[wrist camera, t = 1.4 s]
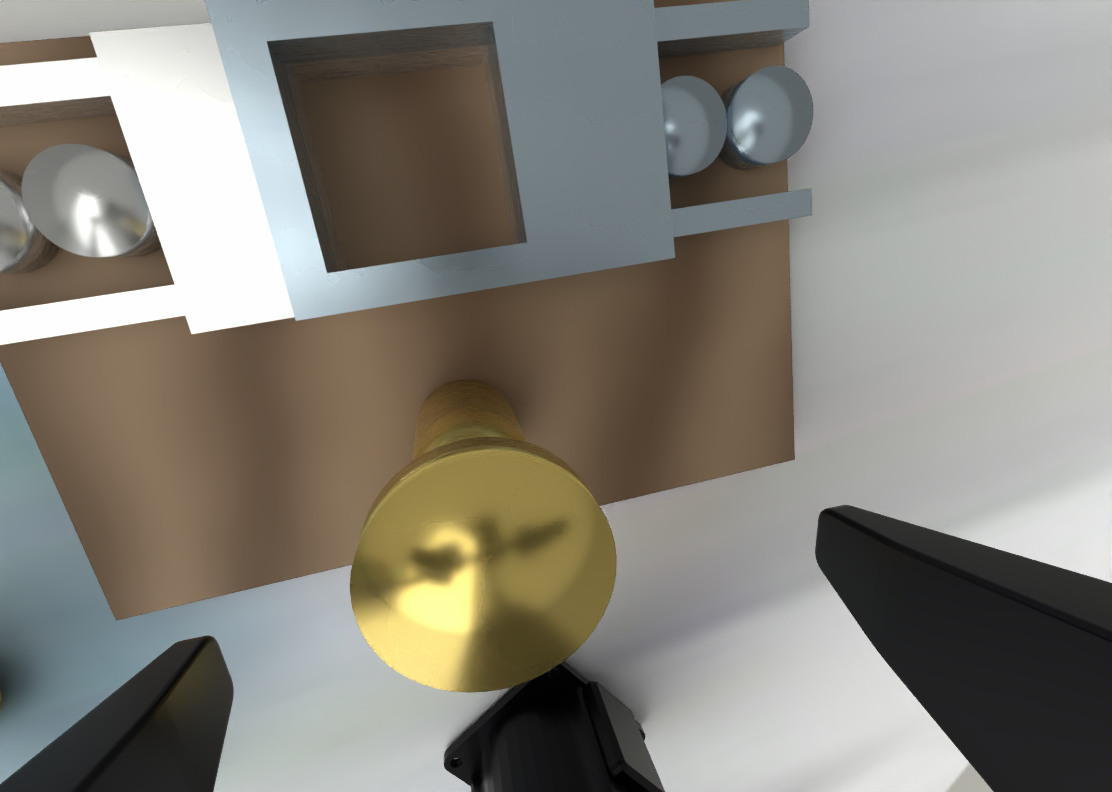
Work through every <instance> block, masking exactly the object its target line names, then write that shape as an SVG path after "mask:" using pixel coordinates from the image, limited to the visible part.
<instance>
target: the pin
mask: <svg viewBox="0 0 1112 792" xmlns="http://www.w3.org/2000/svg"><path fill="white" fill-rule="evenodd" d="M616 559H617V558H616V549H615V542H614V539H613V535H612V531H611V528H610V526H609V524H608V521H607V519H606V517H605V515H604V513H603V512H602V510H601V508H600V507H599V505H598V504H597V502H596V500H595V499H594V497H593V496H592V494H591V493H590V491H589V489H588V488H587V486H586V485H585V483H584V481H583V480H582V479H581V478H580V477H579V475H578V474H577V473H576V472H575V471H574V470H573V469H572V468H571V467H570V466H569V465H568V464H567V463H566V462H564V461H563V460H562V459H560V458H559V457H557V456H556V455H554V454H553V453H551V452H550V451H547V450H545V449H543V448H541V447H539V446H537V445H534V444H531V443H528V442H527V440H526V438H525V436H524V434H523V432H522V430H521V427H520V425H519V423H518V421H517V419H516V417H515V415H514V412H513V410H512V408H511V406H510V404H509V402H508V401H507V399H506V398H505V396H504V395H503V394H502V393H501V392H500V391H499V390H498V389H496V388H495V387H493V386H492V385H489V384H487V383H485V382H482V381H478V380H473V379H461V380H455V381H452V382H448V383H446V384H444V385H442V386H440V387H439V388H437V389H436V390H435V391H433V392H432V393H431V394H430V395H429V396H428V397H427V399H426V400H425V402H424V403H423V405H422V407H421V409H420V412H419V415H418V420H417V427H416V433H415V440H414V447H413V454H412V461H411V462H410V463H408V464H407V465H406V466H405V467H403V468H402V469H401V470H400V471H398V472H397V473H396V474H395V475H394V476H393V477H392V478H391V479H390V480H389V482H388V483H387V484H386V485H385V486H384V487H383V489H382V490H381V491H380V493H379V494H378V496H377V497H376V498H375V500H374V502H373V504H372V506H371V508H370V510H369V511H368V514H367V516H366V519H365V522H364V525H363V528H362V531H361V534H360V538H359V541H358V545H357V548H356V552H355V555H354V559H353V564H352V569H351V578H350V594H351V602H352V608H353V611H354V615H355V619H356V622H357V624H358V626H359V628H360V630H361V632H362V635H363V636H364V638H365V639H366V641H367V642H368V644H369V645H370V647H371V648H372V649H373V650H374V651H375V653H376V654H377V655H378V656H379V657H380V658H381V659H382V660H383V661H384V662H386V663H387V664H388V665H389V666H390V667H392V668H393V669H394V670H396V671H397V672H399V673H401V674H402V675H404V676H406V677H407V678H409V679H412V680H414V681H416V682H418V683H421V684H423V685H427V686H430V687H433V688H437V689H442V690H447V691H453V692H487V691H493V690H499V689H504V688H508V687H512V686H515V685H519V684H521V683H524V682H527V681H529V680H532V679H534V678H536V677H538V676H540V675H542V674H544V673H546V672H548V671H550V670H551V669H553V668H554V667H556V666H557V665H559V664H560V663H562V662H563V661H564V660H565V659H567V658H568V657H569V656H570V655H572V654H573V653H574V652H575V651H576V650H577V649H578V648H579V647H580V646H581V645H582V644H583V643H584V642H585V641H586V640H587V638H588V637H589V636H590V634H591V633H592V632H593V631H594V629H595V628H596V626H597V625H598V623H599V621H600V620H601V618H602V616H603V615H604V612H605V610H606V608H607V606H608V603H609V601H610V598H611V595H612V591H613V588H614V583H615V577H616Z"/></svg>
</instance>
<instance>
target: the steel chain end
mask: <svg viewBox="0 0 1112 792" xmlns="http://www.w3.org/2000/svg"><path fill="white" fill-rule="evenodd" d="M89 34H90V37H91V40H92V43H93V46H94V49H95V52H96V55H97V57H96V58H85V59H73V60H62V61H51V62H39V63H28V64H17V65H5V66H0V127H4V126H13V125H23V124H33V123H42V122H52V121H61V120H71V119H81V118H90V117H100V116H109V115H117V116H118V119H119V122H120V125H121V128H122V131H123V134H124V137H125V140H126V143H127V146H128V149H129V152H130V155H131V157H132V159H130V158H126V157H123V156H120V155H117V154H114V153H110V152H107V151H104V150H101V149H98V148H95V147H91V146H88V145H82V144H61V145H56V146H53V147H50V148H47V149H45V150H43V151H42V152H40V153H39V154H38V155H36V156H35V157H34V158H33V159H32V160H31V162H30V163H29V164H28V166H27V168H26V170H25V172H24V175H23V177H21V176H19V175H16V174H14V173H11V172H8V171H4V170H0V274H16V273H26V272H31V271H34V270H36V269H39V268H41V267H43V266H44V265H46V264H47V263H48V262H49V261H50V260H51V259H52V258H53V257H54V256H55V254H56V253H57V251H58V249H59V247H61V248H63V249H65V250H67V251H69V252H72V253H74V254H78V255H82V256H88V257H139V256H144V255H147V254H150V253H152V252H154V251H156V250H157V249H159V248H160V247H162V248H163V251H164V254H165V257H166V260H167V263H168V266H169V269H170V272H171V275H172V278H173V281H174V284H175V285H169V286H162V287H155V288H149V289H142V290H136V291H129V292H122V293H116V294H109V295H102V296H96V297H89V298H83V299H76V300H69V301H63V302H56V303H50V304H43V305H36V306H30V307H23V308H16V309H10V310H3V311H0V345H3V344H9V343H16V342H22V341H28V340H34V339H41V338H47V337H53V336H59V335H66V334H72V333H78V332H85V331H91V330H97V329H103V328H110V327H116V326H122V325H128V324H135V323H141V322H147V321H153V320H160V319H166V318H172V317H178V316H186V319H187V322H188V325H189V328H190V331H191V334H196V333H202V332H208V331H214V330H220V329H226V328H232V327H238V326H244V325H250V324H256V323H262V322H268V321H274V320H281V319H287V318H293V317H295V316H294V313H293V309H292V306H291V302H290V299H289V295H288V292H287V288H286V285H285V281H284V278H283V274H282V271H281V267H280V264H279V260H278V257H277V253H276V250H275V246H274V242H273V239H272V235H271V232H270V228H269V225H268V221H267V218H266V214H265V211H264V207H263V204H262V200H261V197H260V193H259V190H258V186H257V183H256V179H255V176H254V172H253V169H252V165H251V161H250V158H249V154H248V151H247V147H246V144H245V140H244V137H243V133H242V130H241V126H240V123H239V119H238V116H237V112H236V109H235V105H234V102H233V98H232V95H231V91H230V88H229V84H228V81H227V77H226V73H225V70H224V66H223V63H222V59H221V56H220V52H219V49H218V45H217V42H216V38H215V35H214V31H213V28H212V24H211V23H202V24H189V25H177V26H165V27H153V28H140V29H128V30H116V31H104V32H92V33H89ZM285 65H286V69H287V73H288V77H289V81H290V85H291V89H292V93H293V97H294V101H295V104H296V108H297V112H298V116H299V120H300V124H301V128H302V132H303V136H304V140H305V144H306V148H307V151H308V155H309V159H310V163H311V167H312V171H313V175H314V179H315V183H316V187H317V191H318V195H319V198H320V202H321V206H322V210H323V214H324V218H325V222H326V226H327V230H328V234H329V238H330V241H331V245H332V249H333V253H334V257H335V261H336V265H337V269H338V272H339V271H345V270H347V267H346V263H345V259H344V255H343V251H342V247H341V243H340V239H339V235H338V231H337V227H336V223H335V219H334V215H333V211H332V207H331V203H330V199H329V195H328V191H327V187H326V183H325V179H324V175H323V171H322V167H321V163H320V159H319V155H318V151H317V147H316V143H315V139H314V135H313V131H312V127H311V123H310V119H309V115H308V111H307V107H306V103H305V99H304V95H303V91H302V87H301V83H306V82H316V81H326V80H336V79H346V78H356V77H366V76H376V75H386V74H396V73H406V72H416V71H426V70H435V69H445V68H455V67H465V66H475V65H483V67H484V73H485V80H486V86H487V92H488V98H489V104H490V110H491V116H492V122H493V128H494V134H495V140H496V146H497V152H498V159H499V165H500V171H501V177H502V183H503V189H504V195H505V201H506V207H507V213H508V219H509V225H510V232H511V238H512V244H513V245H514V244H519V239H518V233H517V226H516V220H515V214H514V208H513V201H512V195H511V189H510V183H509V177H508V170H507V164H506V158H505V152H504V146H503V139H502V133H501V127H500V121H499V115H498V108H497V102H496V96H495V90H494V84H493V77H492V71H491V65H490V59H489V53H488V46H487V45H484V46H474V47H463V48H453V49H442V50H432V51H421V52H411V53H400V54H390V55H379V56H369V57H358V58H347V59H337V60H326V61H316V62H305V63H295V64H285Z"/></svg>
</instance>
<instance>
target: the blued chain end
mask: <svg viewBox="0 0 1112 792" xmlns="http://www.w3.org/2000/svg"><path fill="white" fill-rule="evenodd" d="M205 3H206V7H207V10H208V14H209V17H210V21H211V24H212V28H213V31H214V35H215V38H216V42H217V45H218V49H219V52H220V56H221V59H222V63H223V66H224V70H225V73H226V77H227V81H228V84H229V88H230V91H231V95H232V98H233V102H234V105H235V109H236V112H237V116H238V119H239V123H240V126H241V130H242V133H243V137H244V140H245V144H246V147H247V151H248V154H249V158H250V161H251V165H252V169H253V172H254V176H255V179H256V183H257V186H258V190H259V193H260V197H261V200H262V204H263V207H264V211H265V214H266V218H267V221H268V225H269V228H270V232H271V235H272V239H273V242H274V246H275V250H276V253H277V257H278V260H279V264H280V267H281V271H282V274H283V278H284V281H285V285H286V288H287V292H288V295H289V299H290V302H291V306H292V309H293V313H294V316H295V320H296V321H298V320H304V319H310V318H316V317H322V316H328V315H334V314H340V313H346V312H352V311H358V310H364V309H370V308H377V307H383V306H389V305H395V304H401V303H407V302H413V301H419V300H425V299H431V298H437V297H443V296H449V295H455V294H461V293H467V292H473V291H479V290H485V289H491V288H497V287H503V286H509V285H515V284H521V283H527V282H533V281H539V280H545V279H551V278H557V277H563V276H569V275H575V274H581V273H587V272H593V271H599V270H605V269H611V268H617V267H623V266H629V265H635V264H641V263H647V262H653V261H659V260H665V259H671V258H675V250H674V238H673V237H679V236H685V235H691V234H698V233H704V232H710V231H716V230H723V229H729V228H735V227H741V226H748V225H754V224H760V223H767V222H773V221H779V220H785V219H792V218H798V217H804V216H810V215H812V196H811V188H810V189H804V190H797V191H791V192H784V193H777V194H771V195H764V196H758V197H751V198H744V199H738V200H731V201H724V202H718V203H711V204H705V205H698V206H691V207H685V208H678V209H672V210H671V202H670V190H669V181H672V180H675V179H678V178H681V177H685V176H688V175H691V174H694V173H696V172H699V171H701V170H703V169H705V168H706V167H707V166H709V165H710V164H711V163H712V162H713V161H714V160H715V159H716V157H717V156H718V157H719V158H720V159H721V160H722V161H723V162H724V163H725V164H726V165H728V166H730V167H732V168H734V169H738V170H750V169H754V168H758V167H761V166H765V165H768V164H772V163H776V162H779V161H782V160H785V159H787V158H789V157H790V156H792V155H793V154H794V153H795V152H797V151H798V150H799V148H800V147H801V146H802V145H803V143H804V142H805V140H806V138H807V136H808V134H809V131H810V129H811V125H812V120H813V102H812V97H811V94H810V91H809V89H808V86H807V85H806V83H805V81H804V80H803V79H802V78H801V77H800V76H799V75H798V74H797V73H796V72H794V71H793V70H791V69H789V68H786V67H783V66H769V67H765V68H762V69H760V70H758V71H757V72H755V73H753V74H752V75H750V76H748V77H746V78H745V79H743V80H741V81H740V82H738V83H736V84H734V85H733V86H731V87H730V88H728V89H727V90H726V91H724V92H723V93H722V95H721V96H719V94H718V93H717V91H716V90H715V89H714V88H713V87H712V86H711V85H710V84H709V83H707V82H706V81H704V80H702V79H700V78H697V77H694V76H678V77H675V78H672V79H669V80H668V81H666V82H664V83H663V84H662V85H661V82H660V70H659V58H667V57H676V56H686V55H696V54H705V53H715V52H724V51H734V50H744V49H753V48H763V47H773V46H779V45H780V44H782V43H784V42H785V41H787V40H788V39H790V38H792V37H793V36H795V35H796V34H798V33H800V32H801V31H803V30H804V29H806V28H808V27H809V0H740V1H729V2H717V3H706V4H695V5H684V6H672V7H661V8H654V0H205ZM484 45H487V46H488V53H489V59H490V65H491V71H492V77H493V84H494V90H495V96H496V102H497V108H498V115H499V121H500V127H501V133H502V139H503V146H504V152H505V158H506V164H507V170H508V177H509V183H510V189H511V195H512V201H513V208H514V214H515V220H516V226H517V233H518V239H519V244H514V245H507V246H501V247H494V248H488V249H481V250H475V251H468V252H462V253H455V254H449V255H442V256H436V257H429V258H423V259H416V260H410V261H403V262H397V263H390V264H384V265H378V266H371V267H365V268H358V269H352V270H345V271H339V272H338V269H337V265H336V261H335V257H334V253H333V249H332V245H331V241H330V238H329V234H328V230H327V226H326V222H325V218H324V214H323V210H322V206H321V202H320V198H319V195H318V191H317V187H316V183H315V179H314V175H313V171H312V167H311V163H310V159H309V155H308V151H307V148H306V144H305V140H304V136H303V132H302V128H301V124H300V120H299V116H298V112H297V108H296V104H295V101H294V97H293V93H292V89H291V85H290V81H289V77H288V73H287V69H286V65H285V64H295V63H305V62H316V61H326V60H337V59H347V58H358V57H369V56H379V55H390V54H400V53H411V52H421V51H432V50H442V49H453V48H463V47H474V46H484Z"/></svg>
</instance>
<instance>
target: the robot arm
mask: <svg viewBox="0 0 1112 792" xmlns="http://www.w3.org/2000/svg"><path fill="white" fill-rule="evenodd" d="M815 555H816V560H817V563H818V565H819V567H820V569H821V570H822V572H823V573H824V575H825V576H826V578H827V579H828V581H829V582H830V583H831V585H832V586H833V588H834V589H835V591H836V592H837V594H838V595H839V597H840V598H841V599H842V601H843V602H844V604H845V605H846V607H847V608H848V610H849V611H850V612H851V614H852V615H853V617H854V618H855V620H856V621H857V623H858V624H859V626H860V627H861V628H862V630H863V631H864V633H865V634H866V636H867V637H868V639H869V640H870V641H871V643H872V644H873V645H874V647H875V648H876V649H877V651H878V652H879V653H880V655H881V656H882V657H883V658H884V660H885V661H886V662H887V664H888V665H889V666H890V667H891V668H892V670H893V671H894V672H895V673H896V675H897V676H898V677H899V678H900V679H901V681H902V682H903V683H904V684H905V685H906V687H907V688H908V689H909V690H910V691H911V693H912V694H913V695H914V696H915V697H916V699H917V700H918V701H919V702H920V703H921V705H922V706H923V707H924V708H925V709H926V711H927V712H928V713H929V714H930V716H931V717H932V718H933V719H934V720H935V722H936V723H937V724H938V725H939V726H940V728H941V729H942V730H943V731H944V732H945V734H946V735H947V736H948V737H949V738H950V740H951V741H952V742H953V743H954V744H955V746H956V747H957V748H958V749H959V750H960V752H961V753H962V754H963V755H964V757H965V758H966V759H967V760H968V761H969V763H970V764H971V765H972V766H973V767H974V768H975V770H976V771H977V772H978V773H979V774H980V776H981V777H982V778H983V779H984V781H985V782H986V783H987V784H988V785H989V787H990V788H991V789H992V790H993V791H994V792H1112V583H1110V582H1107V581H1103V580H1100V579H1097V578H1093V577H1090V576H1086V575H1083V574H1080V573H1076V572H1073V571H1069V570H1066V569H1063V568H1059V567H1056V566H1053V565H1049V564H1046V563H1042V562H1039V561H1036V560H1032V559H1029V558H1026V557H1022V556H1019V555H1015V554H1012V553H1009V552H1005V551H1002V550H998V549H995V548H992V547H988V546H985V545H982V544H978V543H975V542H971V541H968V540H965V539H961V538H958V537H955V536H951V535H948V534H944V533H941V532H938V531H934V530H931V529H927V528H924V527H921V526H917V525H914V524H911V523H907V522H904V521H900V520H897V519H894V518H890V517H887V516H884V515H880V514H877V513H873V512H870V511H867V510H863V509H860V508H856V507H853V506H849V505H841V506H837V507H832V508H827V509H824V510H823V511H822V512H821V513H820V515H819V519H818V528H817V538H816V548H815ZM554 668H557V669H556V670H555V671H552V672H549V671H548V672H546V673H544V674H542V675H540V676H538V677H536V678H534V679H532V680H529V681H527V682H524V683H521V684H519V685H516V686H515V687H514V688H513V689H512V690H511V691H510V692H509V693H507V694H506V695H505V696H504V697H503V698H502V699H501V700H500V701H499V702H498V703H497V704H495V705H494V706H493V707H492V708H491V709H490V710H489V711H488V712H487V713H486V714H485V715H483V716H482V717H481V718H480V719H479V720H478V721H477V722H476V723H475V724H474V725H473V726H471V727H470V728H469V729H468V730H467V731H466V732H465V733H464V734H463V735H462V736H461V737H459V738H458V739H457V740H456V741H455V742H454V743H453V744H452V745H451V746H450V747H449V748H447V750H446V751H445V753H444V767H445V769H446V770H447V771H449V772H450V773H452V774H453V775H455V776H456V777H458V778H459V779H461V780H462V781H464V782H465V783H467V784H468V785H470V786H471V792H665V790H664V788H663V786H662V783H661V781H660V778H659V776H658V774H657V771H656V769H655V766H654V764H653V762H652V759H651V757H650V754H649V752H648V750H647V747H646V745H645V742H644V739H645V733H644V731H643V729H642V726H641V725H640V724H639V723H638V722H637V721H636V720H635V719H634V716H633V714H632V712H631V710H630V709H629V708H628V707H627V706H625V705H624V704H623V703H622V702H621V701H619V700H618V699H617V698H616V697H615V696H613V695H612V694H611V693H610V692H609V691H607V690H606V689H605V688H604V687H603V686H601V685H600V684H599V683H598V682H595V681H590V682H588V681H587V680H586V679H585V678H584V677H582V676H581V675H580V674H579V673H578V672H576V671H575V670H574V669H573V668H572V667H570V666H569V665H568V664H567V663H565V662H564V661H563V662H562V663H560V664H559V665H557V666H556V667H554ZM233 693H234V692H233V682H232V679H231V676H230V673H229V671H228V668H227V666H226V663H225V660H224V658H223V655H222V652H221V650H220V647H219V644H218V643H217V641H216V640H215V638H214V637H211V636H202V637H198V638H193V639H188V640H183V641H179V642H177V643H175V644H174V645H172V646H171V647H170V648H168V649H167V650H166V651H165V652H163V653H162V654H161V655H160V656H158V657H157V658H156V659H155V660H154V661H152V662H151V663H150V664H149V665H147V666H146V667H145V668H144V669H142V670H141V671H140V672H139V673H137V674H136V675H135V676H134V677H133V678H131V679H130V680H129V681H128V682H126V683H125V684H124V685H123V686H121V687H120V688H119V689H118V690H116V691H115V692H114V693H113V694H111V695H110V696H109V697H108V698H106V699H105V700H104V701H103V702H102V703H100V704H99V705H98V706H97V707H95V708H94V709H93V710H92V711H90V712H89V713H88V714H87V715H85V716H84V717H83V718H82V719H80V720H79V721H78V722H77V723H76V724H74V725H73V726H72V727H71V728H69V729H68V730H67V731H66V732H64V733H63V734H62V735H61V736H59V737H58V738H57V739H56V740H54V741H53V742H52V743H51V744H49V745H48V746H47V747H46V748H45V749H43V750H42V751H41V752H40V753H38V754H37V755H36V756H35V757H33V758H32V759H31V760H30V761H28V762H27V763H26V764H25V765H23V766H22V767H21V768H20V769H19V770H17V771H16V772H15V773H14V774H12V775H11V776H10V777H9V778H7V779H6V780H5V781H4V782H2V783H1V784H0V792H213V791H214V786H215V781H216V777H217V772H218V767H219V763H220V758H221V753H222V749H223V744H224V739H225V735H226V730H227V725H228V721H229V716H230V711H231V707H232V702H233ZM454 758H458V759H454Z"/></svg>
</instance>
